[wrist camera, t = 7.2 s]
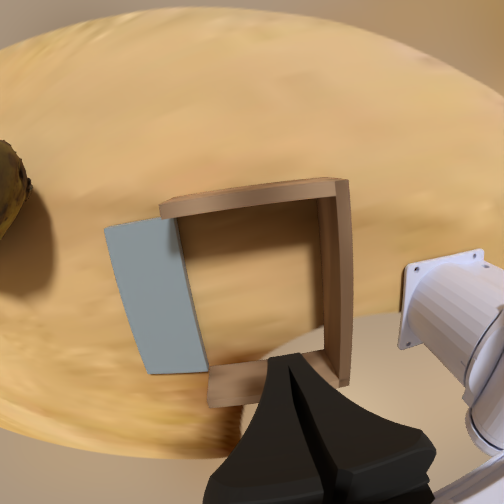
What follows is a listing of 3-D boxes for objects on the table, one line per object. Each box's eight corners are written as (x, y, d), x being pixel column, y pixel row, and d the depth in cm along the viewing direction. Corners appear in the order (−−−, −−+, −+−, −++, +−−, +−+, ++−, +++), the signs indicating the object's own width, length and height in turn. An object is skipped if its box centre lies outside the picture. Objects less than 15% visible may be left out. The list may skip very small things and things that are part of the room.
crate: (325, 177, 19) (348, 179, 15) (333, 354, 23) (349, 385, 19) (173, 197, 18) (158, 204, 15) (211, 373, 22) (209, 408, 18)
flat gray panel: (172, 216, 18) (103, 228, 18) (207, 371, 21) (147, 373, 21) (175, 214, 18) (108, 226, 19) (208, 365, 22) (150, 368, 22)
